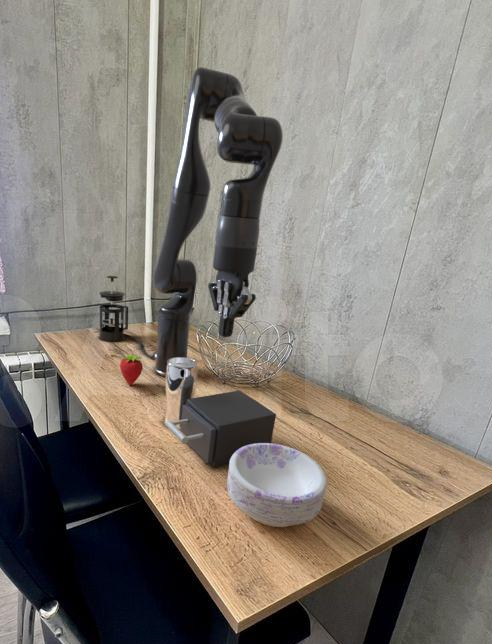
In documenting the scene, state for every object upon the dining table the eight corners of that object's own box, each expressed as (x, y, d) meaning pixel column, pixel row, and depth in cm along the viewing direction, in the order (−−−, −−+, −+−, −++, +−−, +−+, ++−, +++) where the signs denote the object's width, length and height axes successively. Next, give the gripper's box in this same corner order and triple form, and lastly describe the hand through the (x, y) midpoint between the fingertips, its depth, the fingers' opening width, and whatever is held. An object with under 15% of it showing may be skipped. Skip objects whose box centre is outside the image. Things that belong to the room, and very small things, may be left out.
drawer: (185, 469, 74) (188, 435, 71) (159, 440, 83) (161, 408, 80) (259, 450, 81) (264, 418, 79) (228, 425, 90) (232, 396, 88)
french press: (103, 343, 144) (103, 278, 135) (93, 336, 151) (92, 274, 143) (132, 339, 150) (134, 277, 142) (121, 333, 157) (122, 273, 149)
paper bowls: (259, 553, 57) (267, 509, 54) (208, 489, 70) (212, 450, 67) (338, 527, 63) (350, 485, 60) (278, 472, 76) (285, 435, 73)
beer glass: (190, 432, 88) (196, 369, 83) (159, 427, 89) (163, 365, 84) (194, 418, 94) (200, 358, 89) (166, 414, 96) (169, 355, 90)
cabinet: (214, 468, 76) (219, 426, 73) (183, 437, 86) (186, 399, 83) (269, 453, 82) (276, 414, 79) (234, 426, 92) (239, 390, 89)
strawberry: (135, 378, 115) (136, 345, 111) (146, 388, 109) (147, 353, 105) (115, 380, 112) (116, 347, 109) (125, 391, 106) (126, 356, 103)
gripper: (276, 248, 68) (261, 344, 74) (232, 241, 79) (222, 325, 85) (240, 247, 65) (227, 348, 71) (200, 239, 76) (192, 327, 82)
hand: (224, 335), depth 78 cm, fingers closed
